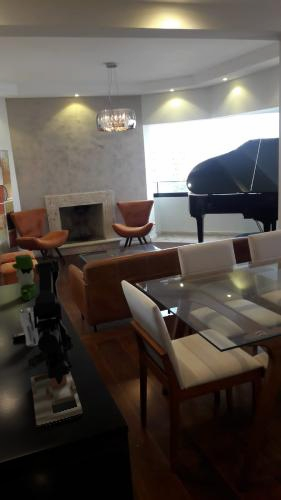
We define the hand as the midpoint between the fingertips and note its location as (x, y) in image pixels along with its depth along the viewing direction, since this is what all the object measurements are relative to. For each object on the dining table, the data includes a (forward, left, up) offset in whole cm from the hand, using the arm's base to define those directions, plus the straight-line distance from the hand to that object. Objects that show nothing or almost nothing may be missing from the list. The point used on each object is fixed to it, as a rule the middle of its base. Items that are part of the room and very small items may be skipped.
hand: (59, 383), depth 122 cm
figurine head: (-114, -5, -4) cm, 114 cm away
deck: (+3, -2, -4) cm, 5 cm away
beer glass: (-44, -6, -4) cm, 44 cm away
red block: (-4, 0, -2) cm, 4 cm away
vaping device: (-33, -1, -4) cm, 33 cm away
